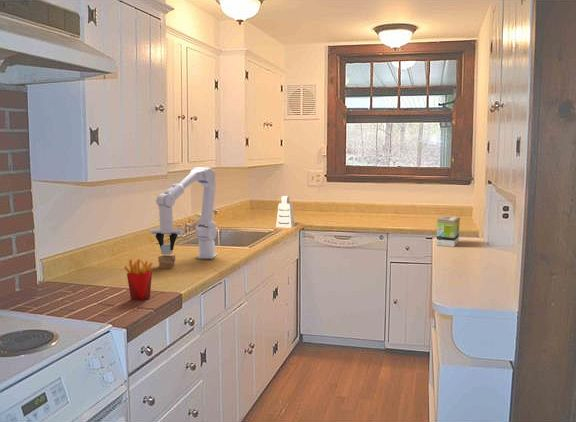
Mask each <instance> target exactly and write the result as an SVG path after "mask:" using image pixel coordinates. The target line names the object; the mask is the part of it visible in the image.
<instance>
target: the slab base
mask: <svg viewBox="0 0 576 422" xmlns="http://www.w3.org/2000/svg"><path fill="white" fill-rule="evenodd" d="M175 261H176V260H175ZM175 261H173V262H171V263H160V262H158V264H159V265H158V268H159V269H161V268H163V269H165V268H166V269H167V268H168V267H172V268H174V266H175V265H176V264H175Z"/></svg>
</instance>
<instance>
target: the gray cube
mask: <svg viewBox="0 0 576 422" xmlns="http://www.w3.org/2000/svg"><path fill="white" fill-rule="evenodd" d="M173 250H174V249H173ZM173 250H171V249H170V243H164V244H163V245H161V248H160V251H161V252H160V253H161V255H172V254H173V253H174V251H173Z"/></svg>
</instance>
